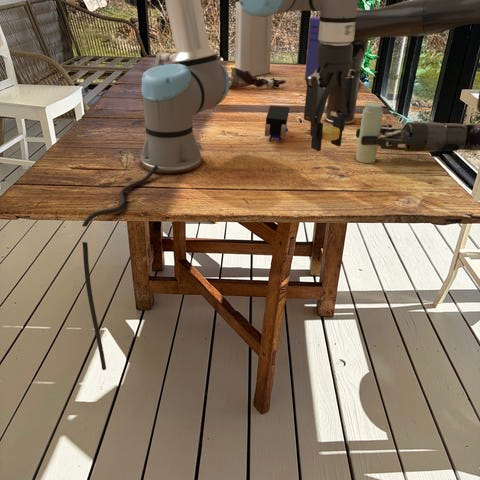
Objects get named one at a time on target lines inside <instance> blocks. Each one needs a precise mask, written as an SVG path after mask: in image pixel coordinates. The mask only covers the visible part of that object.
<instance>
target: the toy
mask: <svg viewBox="0 0 480 480" xmlns="http://www.w3.org/2000/svg"><path fill="white" fill-rule="evenodd" d="M175 54H176V52H174V53H171V52H162V51H159V52H157V53H156V54H155V55H156V56H155V66H158V65H164V62H166V63H167V62H172V60H173V58H174V56H175Z"/></svg>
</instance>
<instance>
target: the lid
mask: <svg viewBox="0 0 480 480" xmlns="http://www.w3.org/2000/svg"><path fill="white" fill-rule="evenodd" d="M339 134H340V129H339V128H337V127H334V126H333V125H323V132H322V141H331V140H336V139H338V138H339Z"/></svg>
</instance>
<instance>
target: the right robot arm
mask: <svg viewBox="0 0 480 480" xmlns="http://www.w3.org/2000/svg"><path fill="white" fill-rule="evenodd" d="M472 24H480V0H405V1H401V2H398V3H394V4H391V5H386V6H384V7H379V8H374V9H362V8H360V7H357V15H356V25H355V34H354V41H353V42H351V43H350V44H352V46H353V53H352V61H351V62H350V63H349V68H350V69H353V70H357V71H358V72H359V74H358V77H357V80H356V86H355V98H354V109H353V113H352V114H349V115H350V117H349V118H348V119H345V125H350V124H353V123H355V115H356V109H357V102H358V94H359V88H360V85H361V83H360V81H361V72H362V64H363V60H364V58H365V56H366V53H367V46H368V42H369V39H374V38H407V37H421V36H431V35H436V34H439V33H443V32H446V31H449V30H452V29H454V28H457V27H460V26H464V25H472ZM477 98H478V99H477V103H476V109H477V111H478V112H479V113H480V91H479V93H478V97H477ZM335 116H336V117H338V116H337V115H336V107H335V98H334V90H333V89H332V90H331V93H330V94H329V95H328V98H327V102H326V110H325V117H324V121H326V122H327V123H331V124H333V117H335ZM359 135H360V128H357V129H356V131H355V137H356V138H358V139H359ZM361 144H362V145H376V146H378V147H377V148H379V147H380V149H381V150H389V151H391V150H392V151H404V152H407V153H410V152H411V153H417V152H418V153H419V152H420V153H432V152H446V151H447V152H454V151H477V152H479V151H480V123H469V124H468V123H466V124H461V123H453V122H452V123H449V122H448V123H447V122H442V123H441V122H435V121H433V122H432V121H430V122H428V121H427V122H426V121H423V122H422V121H418V122H417V121H408V122H406V123H405V124H404V125H403V127H402V128H399V127H394V126H393V124H391V123H390V124H381V129H380V135H379V136H378V137H377V136H362V138H361Z"/></svg>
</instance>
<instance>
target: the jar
mask: <svg viewBox="0 0 480 480" xmlns="http://www.w3.org/2000/svg"><path fill="white" fill-rule="evenodd" d="M383 108H384V105H383V103H380V102H376V101H367V102H366V103H365V105H364V108H363V109H362V116H361V122H360V127H359V129H360V135H359V138H358V143H357V148H356V149H357V150H356V155H355V159H356V161H357V162H360V163H363V164H372V163H375V162H376V157H377V153H378V148H379V147H378V146H376V145H362V144H361V138H362V136H377V137H378V136H379V135H380V129H381V125H382V122H383V117H384V110H383Z"/></svg>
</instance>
